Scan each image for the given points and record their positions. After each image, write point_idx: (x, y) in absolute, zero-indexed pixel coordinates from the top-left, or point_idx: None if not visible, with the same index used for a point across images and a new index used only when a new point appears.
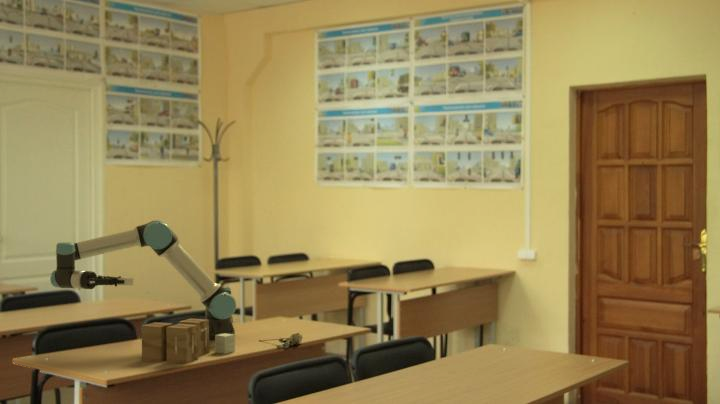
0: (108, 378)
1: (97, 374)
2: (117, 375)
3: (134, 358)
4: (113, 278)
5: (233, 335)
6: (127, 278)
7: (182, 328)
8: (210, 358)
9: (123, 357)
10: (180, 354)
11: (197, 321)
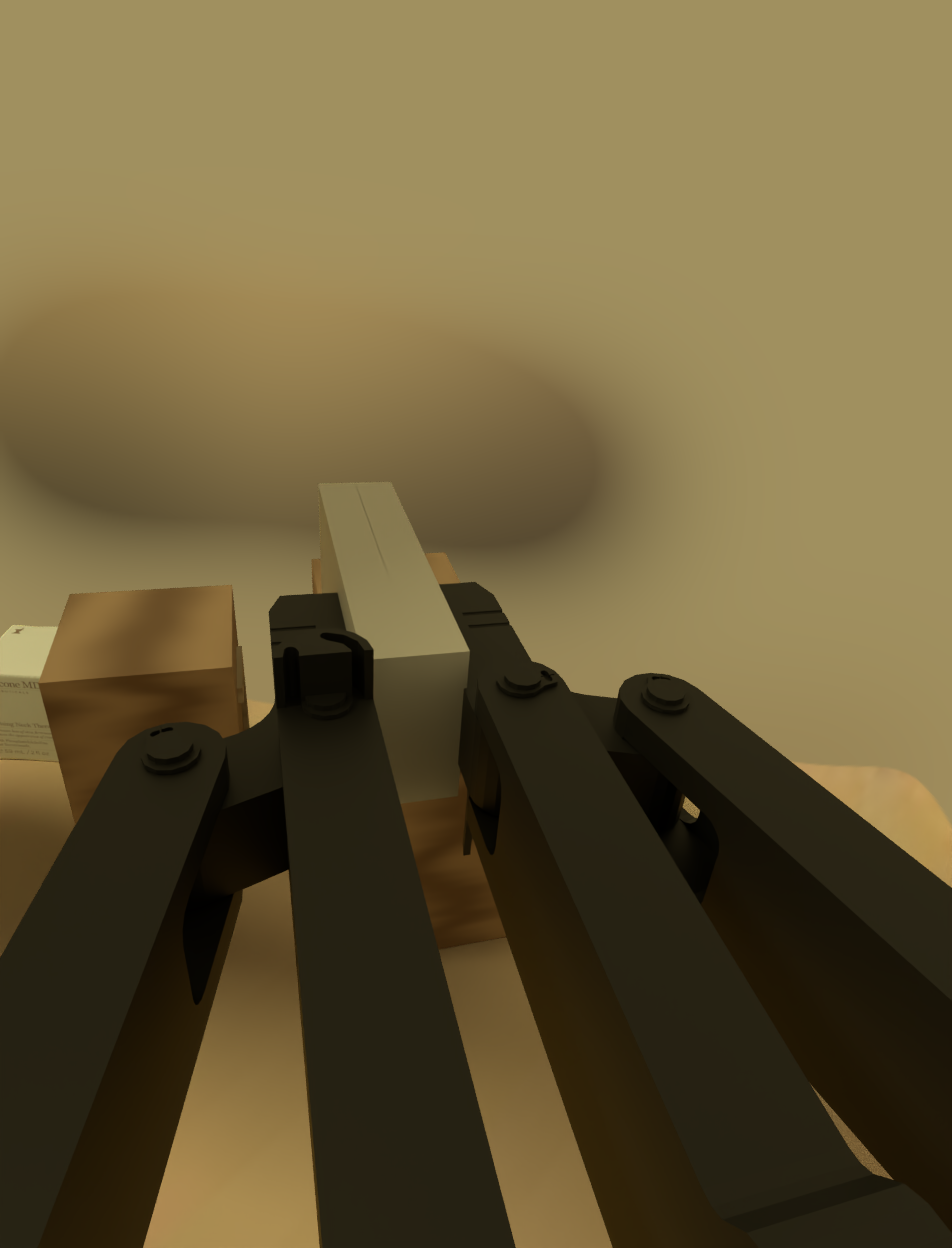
0: (898, 772)
1: (928, 862)
2: (837, 781)
3: (498, 1029)
4: (407, 856)
5: (27, 627)
6: (364, 530)
7: (450, 565)
8: (266, 703)
9: (527, 1146)
10: None
11: (179, 603)
